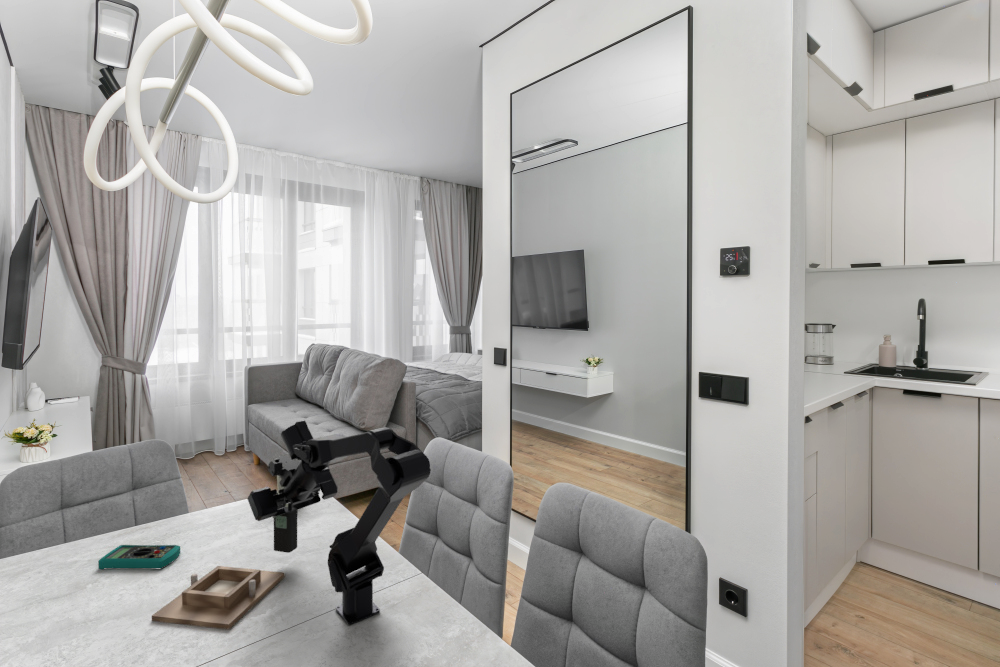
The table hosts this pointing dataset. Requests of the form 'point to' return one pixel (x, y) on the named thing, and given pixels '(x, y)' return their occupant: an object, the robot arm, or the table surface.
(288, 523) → the walkie-talkie
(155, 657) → the table surface
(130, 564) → the digital multimeter
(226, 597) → the wooden frame board
